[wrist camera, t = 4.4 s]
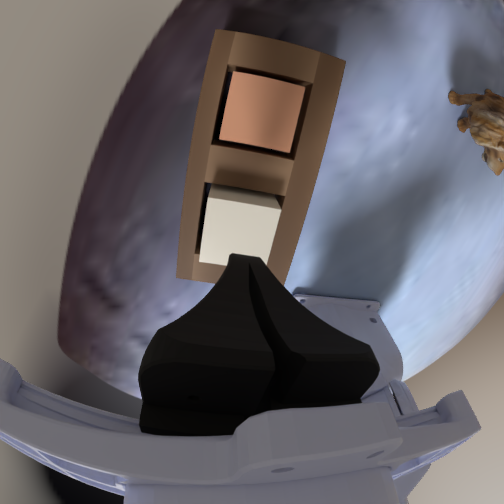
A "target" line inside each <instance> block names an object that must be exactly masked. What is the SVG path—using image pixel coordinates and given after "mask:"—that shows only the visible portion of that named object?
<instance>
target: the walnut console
mask: <svg viewBox="0 0 504 504" xmlns="http://www.w3.org/2000/svg"><path fill="white" fill-rule="evenodd" d="M345 64H346V61H344V60H342V59H339V58H336V57H334V56H331V55H328V54H325V53H322V52H319V51H316V50H313V49H310V48H306V47H303V46H299V45H296V44H292V43H288V42H284V41H280V40H276V39H272V38H267V37H262V36H257V35H252V34H247V33H241V32H234V31H227V30H219V29H216V30H215V34H214V38H213V41H212V45H211V49H210V53H209V57H208V61H207V66H206V70H205V74H204V79H203V83H202V88H201V93H200V98H199V103H198V108H197V113H196V118H195V124H194V129H193V135H192V141H191V147H190V153H189V160H188V167H187V174H186V181H185V189H184V197H183V205H182V214H181V224H180V234H179V245H178V257H177V272H176V278H181V279H187V280H194V281H201V282H208V283H215V284H216V283H217V281H218V280H219V278H220V277H221V275H222V273H223V272H224V270H225V268H226V265H219V264H212V263H205V262H199V258H200V250H201V242H202V235H203V234H199V232H200V225H201V218H202V211H203V204H204V197H205V191H206V184H207V182H208V183H215V184H221V185H227V186H233V187H239V188H245V189H251V190H256V191H262V192H267V193H272V194H275V198H276V200H277V202H278V204H279V206H280V208H281V213H280V217H279V221H278V224H277V228H276V232H275V236H274V239H273V243H272V247H271V250H270V254H269V258H268V262H267V267H268V268H269V269H270V271H271V272H272V273H273V274H274V276H275V277H276V278H277V279H278V280H279V282H280V283H281V284H282V285H283V286H284V284H285V281H286V278H287V275H288V271H289V268H290V265H291V262H292V259H293V256H294V253H295V250H296V246H297V243H298V240H299V237H300V234H301V230H302V227H303V224H304V220H305V217H306V214H307V210H308V207H309V204H310V200H311V197H312V193H313V190H314V186H315V183H316V179H317V176H318V172H319V168H320V165H321V161H322V158H323V154H324V150H325V146H326V143H327V139H328V135H329V131H330V127H331V123H332V119H333V115H334V111H335V107H336V103H337V99H338V95H339V90H340V86H341V82H342V77H343V73H344V68H345ZM233 71H235V72H241V73H247V74H252V75H257V76H262V77H266V78H271V79H275V80H279V81H284V82H288V83H291V84H295V85H299V86H302V87H305V91H304V95H303V100H302V104H301V108H300V112H299V116H298V120H297V125H296V129H295V133H294V137H293V141H292V145H291V149H290V153H288V152H285V153H282V152H278V151H273V150H268V149H264V148H259V147H253V146H248V145H243V144H237V143H231V142H225V141H219V140H214V138H215V133H216V128H217V123H218V118H219V113H220V108H221V103H222V99H223V94H224V89H225V85H226V80H227V76H228V72H233Z"/></svg>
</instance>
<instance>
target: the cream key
mask: <svg viewBox="0 0 504 504" xmlns="http://www.w3.org/2000/svg"><path fill="white" fill-rule="evenodd" d="M280 213H281V208H280V206H279V204H278V202H277V200H276V198H275V195H274V194H272V193H267V192H262V191H256V190H251V189H245V188H239V187H233V186H227V185H221V184H215V183H212V185H211V188H210V192H209V196H208V201H207V207H206V214H205V221H204V228H203V235H202V242H201V250H200V258H199V262H205V263H212V264H219V265H226V266H227V264H228V258H229V255H230V254H231V253H236V254H242V255H249V256H256V257H260V258H261V259H262V260H263V261H264V263H265V264H266V265H267V262H268V258H269V254H270V250H271V247H272V243H273V239H274V236H275V232H276V228H277V224H278V221H279V217H280Z"/></svg>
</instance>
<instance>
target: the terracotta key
mask: <svg viewBox="0 0 504 504" xmlns="http://www.w3.org/2000/svg"><path fill="white" fill-rule="evenodd" d="M304 91H305V87H302V86H299V85H295V84H291V83H288V82H284V81H279V80H275V79H271V78H266V77H262V76H257V75H252V74H247V73H241V72H235V71H233V75H232V80H231V84H230V88H229V93H228V98H227V102H226V107H225V112H224V117H223V121H222V126H221V132H220V137H219V139H221V140H227V141H233V142H239V143H244V144H250V145H255V146H260V147H265V148H270V149H274V150H279V151H283V152H288V153H290V149H291V145H292V141H293V137H294V133H295V129H296V125H297V120H298V116H299V112H300V108H301V104H302V100H303V95H304Z"/></svg>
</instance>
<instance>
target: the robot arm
mask: <svg viewBox="0 0 504 504" xmlns="http://www.w3.org/2000/svg"><path fill="white" fill-rule="evenodd" d="M302 299H304V300H303V301H300V300H302ZM367 305H368V306H367ZM379 308H380V303H379V302H378V301H368V300H356V299H344V298H333V297H323V296H313V295H304V294H295V295H293V296H292V295H291V293H290V292H289V291H288V290H287V289H286V288H285V287H284V286H283V285H282V284H281V283H280V282H279V280H278V279H277V278H276V277H275V276H274V274H273V273H272V272H271V271H270V269H269V268H268V267H267V265H266V264H265V263H264V261H263V260H262V259H261V258H260V257H256V256H249V255H242V254H236V253H231V254H230V255H229V258H228V264H227V266H226V268H225V270H224V272H223V273H222V275H221V277H220V278H219V280H218V281H217V283H216V284H215V285H214V287H213V288H212V289H211V291H210V292H209V293H208V294H207V295H206V296H205V297H204V298H203V299H202V300H201V301H200V302H199V303H198V304H197V305H196V306H195V307H193V308H192V309H191V310H190V311H188V312H187V313H185V314H184V315H183V316H181V317H180V318H178V319H177V320H175V321H174V322H172V323H170V324H168V325H166V326H164V327H162V328H160V329H158V331H157V332H156V334H155V335H154V337H153V338H152V340H151V342H150V343H149V345H148V347H147V349H146V351H145V354H144V356H143V359H142V362H141V366H140V369H139V374H138V382H139V387H140V391H141V396H142V400H143V405H142V409H141V415H140V420H139V419H135V418H130V417H126V416H122V415H118V414H114V413H111V412H107V411H103V410H100V409H96V408H93V407H90V406H87V405H84V404H81V403H77V402H75V401H72V400H69V399H66V398H63V397H61V396H59V395H56V394H53V393H51V392H49V391H46V390H43V389H41V388H39V387H37V386H34V385H32V384H30V383H28V382H26V381H24V380H22V378H21V376H20V374H19V372H18V371H17V370H16V368H15V367H13V366H12V365H11V364H10V363H8V362H6V361H4V360H2V359H0V439H1V440H3V441H4V442H6V443H7V444H9V445H10V446H12V447H14V448H15V449H17V450H19V451H20V452H22V453H24V454H26V455H27V456H29V457H31V458H33V459H35V460H37V461H38V462H40V463H42V464H44V465H46V466H48V467H50V468H52V469H54V470H56V471H58V472H61V473H63V474H65V475H67V476H70V477H72V478H74V479H77V480H79V481H82V482H84V483H87V484H89V485H92V486H95V487H98V488H100V489H103V490H106V491H109V492H113V493H116V494H119V495H123V496H124V504H409V503H408V500H407V496H408V495H409V494H410V492H411V491H412V490H413V489H414V487H415V486H416V485H417V484H418V482H419V481H420V480H421V479H422V477H423V476H424V475H425V473H426V472H427V471H428V469H429V467H430V465H431V463H432V462H434V461H436V460H438V459H439V458H442V457H444V456H445V455H447V454H448V453H450V452H451V451H453V450H454V449H456V448H457V447H459V446H460V445H461V444H463V443H464V442H465V441H467V440H468V439H469V438H471V437H472V436H473V435H475V434H476V433H477V432H478V431H480V429H481V426H480V424H479V422H478V420H477V418H476V416H475V414H474V412H473V410H472V408H471V406H470V404H469V402H468V400H467V399H466V397H465V395H464V393H463V391H462V390H459V391H456V392H453V393H450V394H448V395H446V396H445V397H443V398H442V399H441V400H440V401H439V402H438V403H437V404H436V406H433V407H430V408H427V409H423V410H420V411H419V410H418V407H417V405H416V403H415V401H414V399H413V397H412V394H411V392H410V391H409V389H408V387H407V385H406V384H405V383H404V382H401V380H402V375H403V361H402V357H401V353H400V351H399V349H398V347H397V345H396V344H395V342H394V340H393V338H392V337H391V335H390V333H389V331H388V330H387V328H386V326H385V324H384V323H383V321H382V319H381V318H380V316H379V314H378V312H377V311H378V310H379ZM393 396H394V398H393ZM394 399H395V400H394ZM396 404H397V405H396Z"/></svg>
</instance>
